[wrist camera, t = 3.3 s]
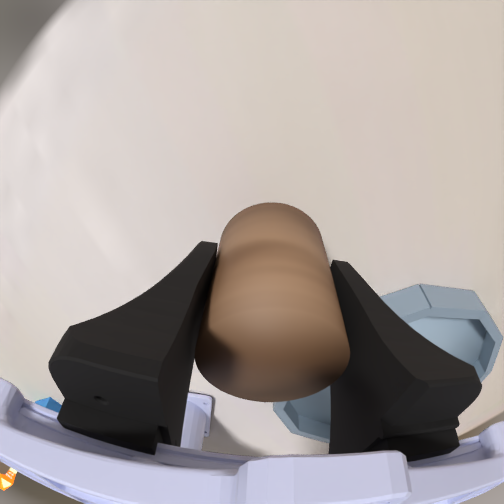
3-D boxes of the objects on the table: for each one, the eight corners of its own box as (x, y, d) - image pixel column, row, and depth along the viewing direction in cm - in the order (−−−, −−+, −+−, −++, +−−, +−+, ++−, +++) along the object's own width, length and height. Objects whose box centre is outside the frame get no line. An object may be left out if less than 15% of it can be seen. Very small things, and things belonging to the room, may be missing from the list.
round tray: (421, 419, 30) (425, 434, 28) (259, 422, 29) (258, 441, 27) (524, 296, 19) (536, 313, 17) (313, 269, 18) (318, 294, 16)
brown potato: (308, 294, 15) (322, 405, 10) (216, 282, 15) (194, 393, 10) (334, 212, 12) (374, 318, 7) (225, 194, 12) (196, 296, 7)
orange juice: (-1, 446, 79) (-13, 480, 62) (10, 451, 78) (-3, 487, 61) (10, 454, 83) (-1, 487, 66) (21, 459, 82) (10, 494, 65)
